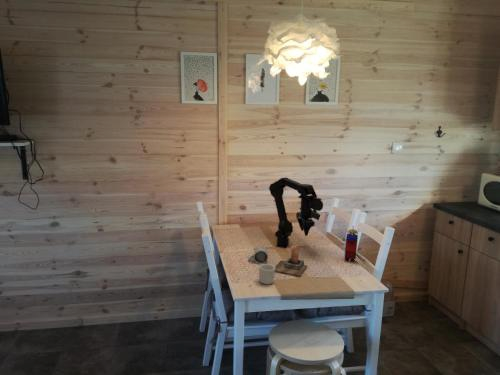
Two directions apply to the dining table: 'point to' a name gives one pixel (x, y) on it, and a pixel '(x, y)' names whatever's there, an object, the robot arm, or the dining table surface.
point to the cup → (266, 273)
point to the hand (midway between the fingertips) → (304, 233)
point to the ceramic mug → (259, 256)
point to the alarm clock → (351, 244)
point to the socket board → (291, 268)
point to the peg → (294, 254)
